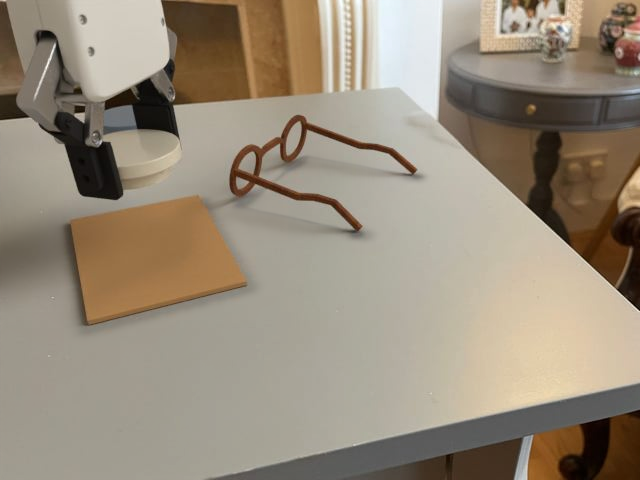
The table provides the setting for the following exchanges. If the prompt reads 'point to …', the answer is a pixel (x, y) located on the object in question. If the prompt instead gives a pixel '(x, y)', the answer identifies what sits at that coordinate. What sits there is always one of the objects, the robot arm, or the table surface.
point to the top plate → (144, 156)
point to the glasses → (271, 144)
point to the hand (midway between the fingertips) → (133, 171)
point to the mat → (150, 258)
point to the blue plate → (119, 119)
